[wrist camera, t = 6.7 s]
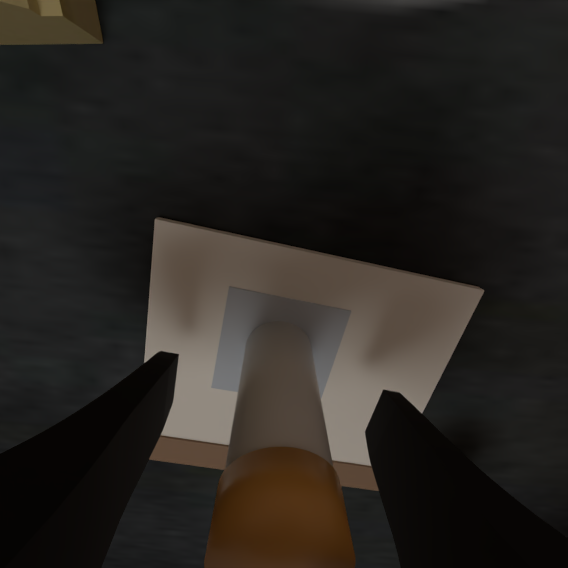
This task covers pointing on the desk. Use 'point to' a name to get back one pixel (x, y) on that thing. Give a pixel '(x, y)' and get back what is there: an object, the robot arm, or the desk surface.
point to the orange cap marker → (279, 465)
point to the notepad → (306, 315)
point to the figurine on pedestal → (49, 22)
